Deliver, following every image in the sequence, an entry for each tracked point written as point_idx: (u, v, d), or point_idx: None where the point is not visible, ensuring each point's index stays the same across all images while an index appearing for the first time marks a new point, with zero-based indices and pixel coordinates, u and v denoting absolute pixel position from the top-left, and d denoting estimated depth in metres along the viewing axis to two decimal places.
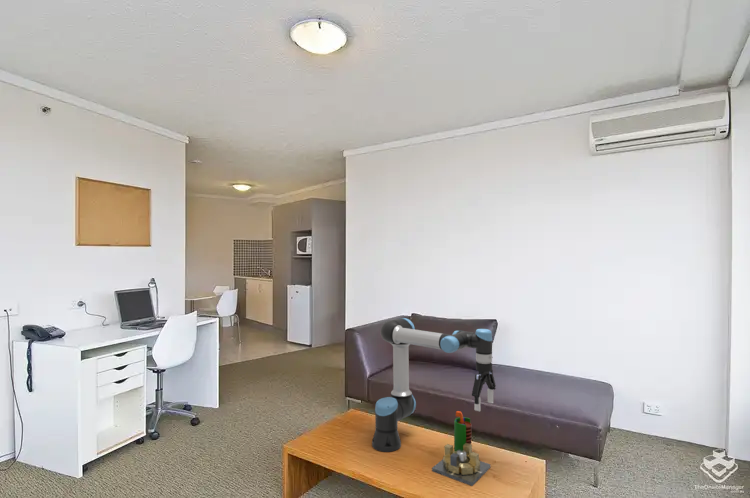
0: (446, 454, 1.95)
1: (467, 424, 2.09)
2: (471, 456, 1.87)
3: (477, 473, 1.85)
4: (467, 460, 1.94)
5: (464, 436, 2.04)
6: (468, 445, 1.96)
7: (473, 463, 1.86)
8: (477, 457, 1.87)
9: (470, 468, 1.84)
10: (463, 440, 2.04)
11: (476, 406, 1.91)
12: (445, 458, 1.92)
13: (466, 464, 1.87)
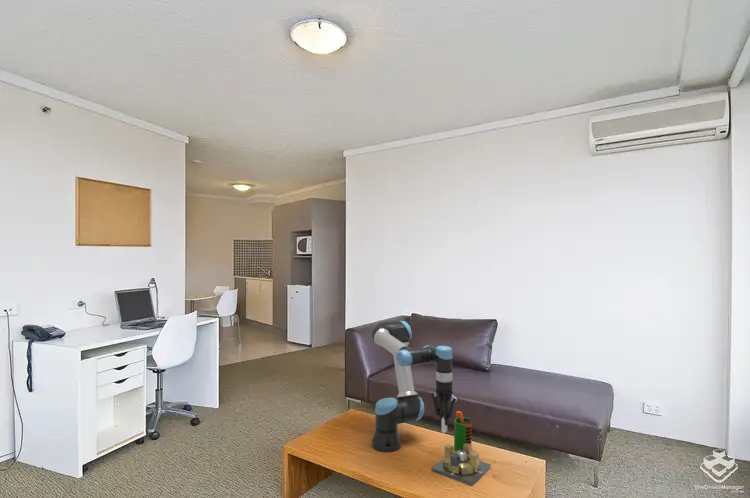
0: (446, 454, 1.95)
1: (467, 424, 2.09)
2: (471, 456, 1.87)
3: (477, 473, 1.85)
4: (467, 460, 1.94)
5: (464, 436, 2.04)
6: (468, 445, 1.96)
7: (473, 463, 1.86)
8: (477, 457, 1.87)
9: (470, 468, 1.84)
10: (463, 440, 2.04)
11: None
12: (445, 458, 1.92)
13: (466, 464, 1.87)
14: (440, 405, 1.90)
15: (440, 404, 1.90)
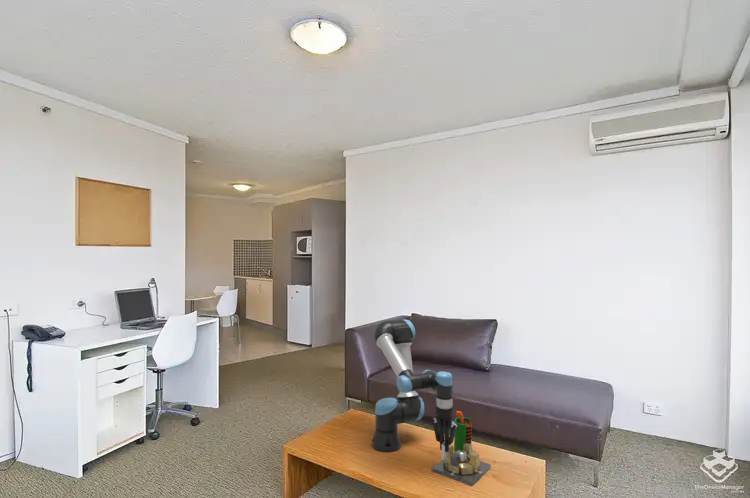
0: None
1: (467, 424, 2.09)
2: (471, 456, 1.87)
3: (477, 473, 1.85)
4: (467, 460, 1.94)
5: (464, 436, 2.04)
6: (468, 445, 1.96)
7: (473, 463, 1.86)
8: (477, 457, 1.87)
9: (470, 468, 1.84)
10: (463, 440, 2.04)
11: None
12: None
13: (466, 464, 1.87)
14: (440, 431, 1.90)
15: (440, 430, 1.90)
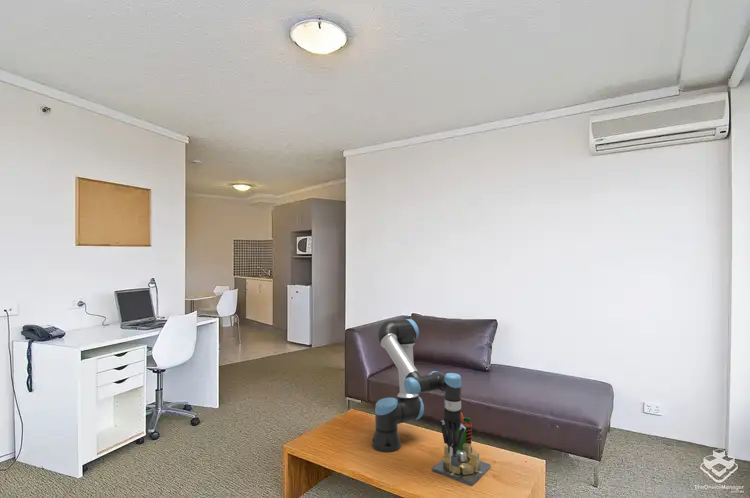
0: (446, 454, 1.94)
1: (467, 424, 2.09)
2: (471, 456, 1.87)
3: (477, 473, 1.85)
4: (467, 460, 1.94)
5: (464, 436, 2.04)
6: (467, 445, 1.96)
7: (473, 463, 1.87)
8: (477, 457, 1.87)
9: (471, 468, 1.84)
10: (463, 440, 2.04)
11: None
12: (445, 458, 1.92)
13: (467, 464, 1.87)
14: (448, 434, 1.87)
15: (448, 433, 1.87)
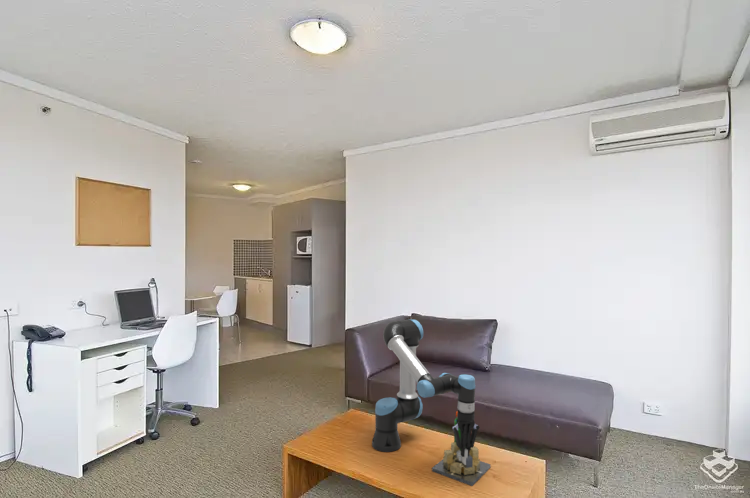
0: (448, 461, 1.88)
1: None
2: (474, 451, 1.92)
3: (477, 473, 1.85)
4: None
5: None
6: None
7: (476, 457, 1.92)
8: None
9: (479, 462, 1.89)
10: None
11: (463, 458, 1.85)
12: (453, 465, 1.86)
13: (472, 461, 1.90)
14: (464, 437, 1.84)
15: (464, 436, 1.84)
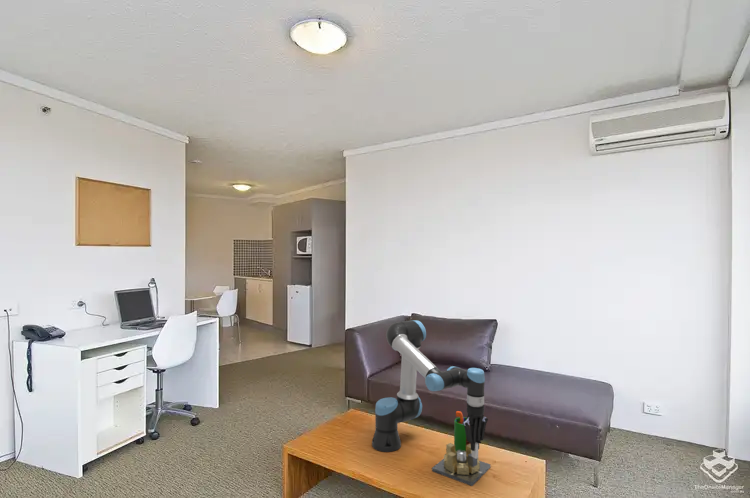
0: (453, 463, 1.86)
1: None
2: None
3: (477, 473, 1.85)
4: None
5: (464, 436, 2.04)
6: (452, 444, 1.97)
7: None
8: None
9: (478, 459, 1.92)
10: (463, 440, 2.04)
11: (473, 452, 1.83)
12: (459, 466, 1.85)
13: None
14: (474, 431, 1.82)
15: (474, 430, 1.82)
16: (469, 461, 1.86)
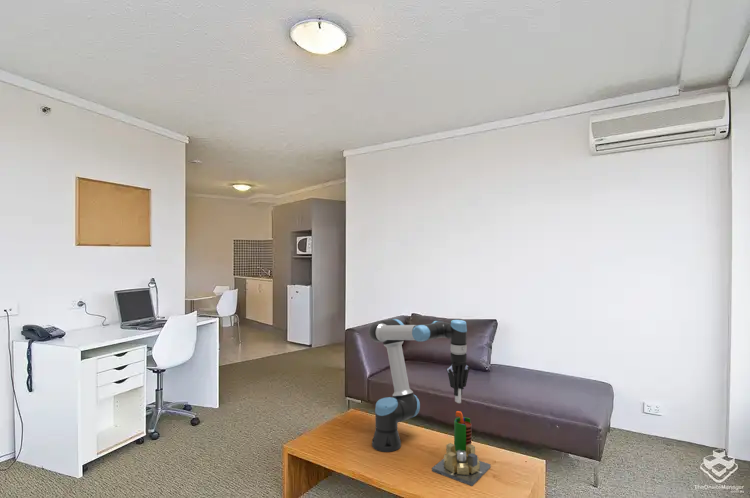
0: (453, 463, 1.86)
1: (467, 424, 2.09)
2: (471, 449, 1.94)
3: (477, 473, 1.85)
4: None
5: (464, 436, 2.04)
6: (452, 444, 1.97)
7: None
8: None
9: (478, 459, 1.92)
10: (463, 440, 2.04)
11: (456, 398, 1.97)
12: (459, 466, 1.85)
13: None
14: (457, 378, 1.95)
15: (457, 377, 1.95)
16: (469, 461, 1.86)
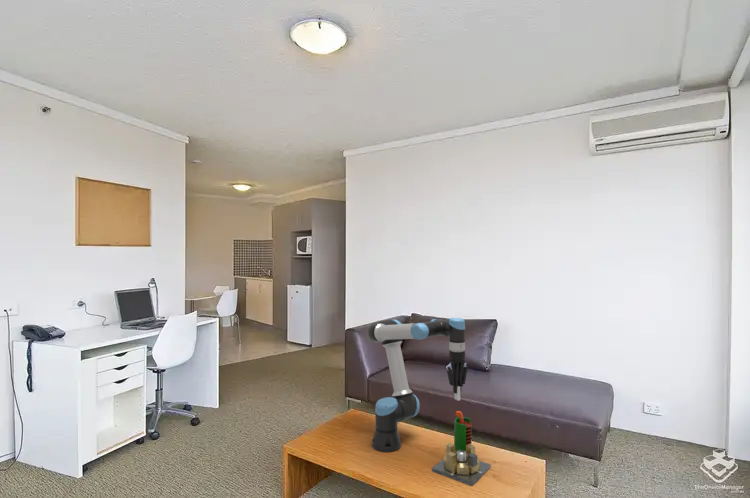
0: (453, 463, 1.86)
1: (467, 424, 2.09)
2: (471, 449, 1.94)
3: (477, 473, 1.85)
4: None
5: (464, 436, 2.04)
6: (452, 444, 1.97)
7: None
8: None
9: (478, 459, 1.92)
10: (463, 440, 2.04)
11: (455, 395, 1.98)
12: (459, 466, 1.85)
13: None
14: (456, 375, 1.96)
15: (456, 374, 1.96)
16: (469, 461, 1.86)
